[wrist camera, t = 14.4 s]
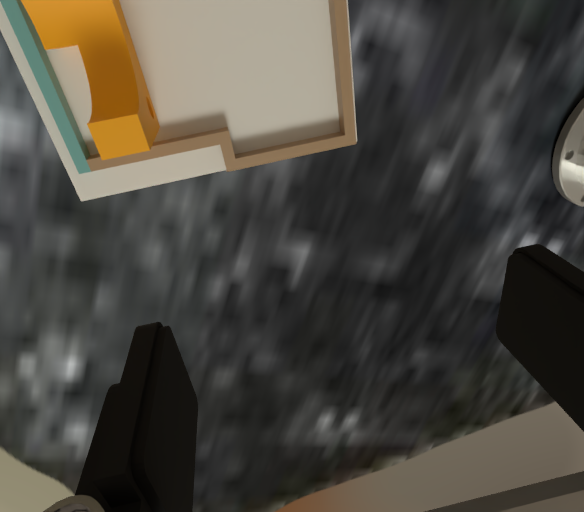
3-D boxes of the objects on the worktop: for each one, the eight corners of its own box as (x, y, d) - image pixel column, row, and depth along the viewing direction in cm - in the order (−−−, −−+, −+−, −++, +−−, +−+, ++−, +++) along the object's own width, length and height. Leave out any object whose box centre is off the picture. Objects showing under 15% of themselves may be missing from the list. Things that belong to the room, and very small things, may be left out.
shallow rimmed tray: (327, -241, 20) (337, -263, 19) (354, 139, 31) (362, 144, 29) (-99, -192, 18) (-126, -212, 17) (83, 198, 29) (76, 207, 27)
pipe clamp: (1, -91, 20) (-73, -138, 15) (85, -103, 21) (44, -153, 15) (96, 140, 26) (69, 167, 21) (160, 126, 27) (150, 150, 21)
